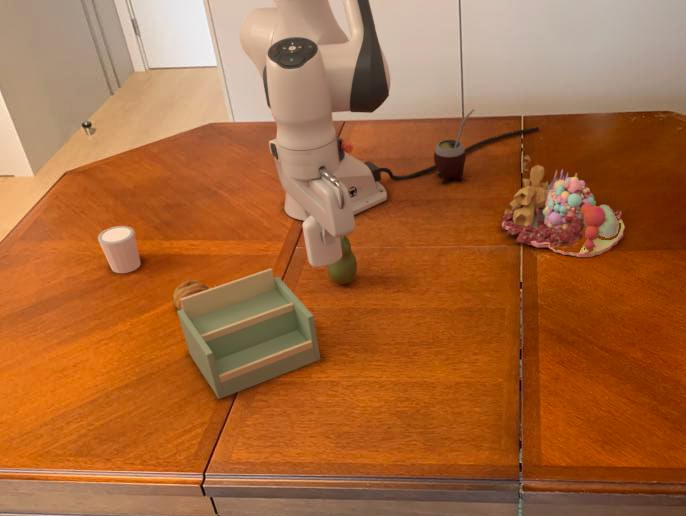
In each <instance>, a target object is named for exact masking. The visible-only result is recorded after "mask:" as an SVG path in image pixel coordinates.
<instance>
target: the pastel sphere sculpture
mask: <svg viewBox="0 0 686 516" xmlns="http://www.w3.org/2000/svg"><path fill="white" fill-rule="evenodd" d="M544 176H545V167H544V166H542V165H539V164H536V165H534V166H532V167H531V169H530V173H529V178H522V182H523V186H524V187H522V188H520V189H518V191H517V192H516V193H515V194H514V196H513V199H512V200H511V202H510V203H508V205H507V207H506V208H505V210H504V212H503V213H504V215H503V216H502V219H503V221H502V222H501V228H502V229H504V230H507V231H506V234H505V236H506V237H507V236H512V235H517V234H518V236H517V238H516V240H515V243H518V244H523V245H526V246H530V245H531V246H533V247H535V248H549V250H551V251H553V252H554V253H559V254H561V255H564V256H567V255H568V256H572V257H578V258H591V257H595V256H600V255H602V254H603V253H605V252H609V251H610V250H611V249H612V248H613V247H614V246H616V245H617V244H618V242H619V241H620V240H621V239H622V238H623V237H624V231H625V228H626V226H625V224H624V221H623V219H622V218H621V216H622V210H620V211H619V209H617V210H616V212H614V210H613V209H612V208H611V207H610V206H609V205H607V204H605V203H604V204H600V205H596V204H597V202H596V200H595V196H594V194H593V193H592V192H591V190H590V188H589V187H586V182H585V181H584V180H583V179H580V180H579V177H578V173H577V172H576V173H575V174H574V176H572V177H571V176H569V172H567V173H566V175H564V168H562V169H561V170H560V175H559V178H558V177H557V176H558V169H556V170H555V172H554V176H553V179H552V181H551V182H550V184H549V182H548V181H546V182H542V180H543V179H544ZM566 202H567V203H566ZM570 209H571V210H570ZM575 209H577V210H576V211H575ZM579 209H580V210H579ZM578 210H579V211H578ZM613 212H614V213H613ZM574 213H576V214H574ZM577 213H579V214H577ZM615 213H616V214H617V213H618V215H617V216H615V215H614V214H615ZM564 216H565V217H564ZM574 216H575V217H574ZM616 217H617V218H618V219H620V218H621V219H620V220H617V218H616ZM583 220H584V221H583ZM561 223H563V224H562V225H561ZM568 223H569V224H568ZM619 223H621V229H620V232H619V234H618V236H617V237H616V238H614V239H612V240H601V239H599V238H597V237H598V236H599V235H600V236H601V237H602V236H603V237H605V238H610V237H613V236H615V235H616V234H617V233H618V229H619ZM561 228H562V230H563V231H566V232H563V231H562V230H561ZM583 228H584V229H585V237H586V238H587V240H586V241H585V243H584V245H583V247H582V248H581V250H580V252H579V253H573V252H564V251H561V250H555V249H554V248H553V247H550V243H551V244H553V246H554V247H555V246H556V247H558V246H563V245H565V246H567V247H572V246H573V245H574V243H575V242H578V241H579V240H581V239H582V237H583V236H584V234H583V232H582V229H583ZM544 244H549V245H544ZM594 245H595V247H594ZM584 248H585V250H584ZM592 248H593V251H591V252H589V250H590V249H592ZM588 252H589V253H588ZM585 253H588V254H585Z"/></svg>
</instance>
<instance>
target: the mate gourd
mask: <svg viewBox="0 0 686 516" xmlns="http://www.w3.org/2000/svg"><path fill="white" fill-rule="evenodd" d="M474 111H475V109H474V108H473V109H471V110H470V111H469V112H468V113H467V114H466V115H465V116H464V117H463V119H462V120H461V123H460V128H459V131H458V134H457V139H444V140H440V141H439V142H438V143H437V145H436V147H435V149H434V153H433V161H434V162H433V163H434V165H436V167H437V168H436V170H437V171H438V173H437V177H439V178H442V181H441V184H442V185H446V184H447V183H448V182H450V181H451V180H452V181H455V182H461V183H462V182H464V178H463V174H464V168H465V163H466V158H467V154H466V153H467V152H466V153H465V149H466V148H465V147H464V145H463V144H462V142H461V141H460V140H461V136H462V132H463V129H464V127H465V125H466V121H467V119H468V118H469V117H471V115H472V114H473V112H474Z"/></svg>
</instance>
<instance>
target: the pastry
mask: <svg viewBox="0 0 686 516" xmlns="http://www.w3.org/2000/svg"><path fill="white" fill-rule="evenodd" d="M208 289H210V288H209V287H208V285H206V284H204V283H201V282H199V280H195V279H190V280H185V281H183V282H182V283H181V284H179V285H177V286H176V288H175V290H174V292H173V296H172V297H173V305H174V306H175V307H176V308H177V311H179V310H182V309H183V308H182V304H181V301H180V299H181V298H184V297H187V296H190V295H193V294H196V293H199V292H202V291H205V290H208Z"/></svg>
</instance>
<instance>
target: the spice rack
mask: <svg viewBox="0 0 686 516" xmlns="http://www.w3.org/2000/svg"><path fill="white" fill-rule="evenodd" d="M273 271H274V270H273V269H272V268H271V267H270V268H267V269H265V270H261V271H258V272H256V273H253V274H249V275H246V276H244V277H241V278H238V279H235V280H231V281H229V282H226V283H223V284H220V285H217V286H214V287H211V288H209V289H208V290H205V291H202V292H199V293H196V294H193V295H190V296H187V297H184V298H181V299H180V301H181V304H182V308H183V309H182V310H177V312H176V313H177V317H178V318H179V322H180V327H181V329H182V333H183V336H184V339H185V343H186V347H187V349H188V353H189V355H190V357H191V359H192V360H193V361H194V363H195V365H196V366H197V368H198V369H199V371H200V373H201V374H202V375H203V377H204V378H205V380H206V382H207V383H208V384H209V386H210V388H211V389H212V391H213V393H214V394H215V395H216V397H217V399H218V400H221V399H224V398H226V397H229V396H231V395H235V394H236V393H239V392H241V391H244V390H246V389H248V388H252V387H254V386H256V385H259V384H261V383H264V382H266V381H267V382H268V381H269V380H271V379H274V378H278V377H280V376H282V375H284V374H286V373H290V372H293V371H295V370H297V369H300V368H303V367H305V366H308V365H310V364H312V363H315V362H319V361H321V353H320V347H319V341H318V334H317V327H316V322H315V317H314V314H312V312H311V311H310V310H309V309H308V308H307V307H306V306H305V304H304V303H303V302H302V301H301V299H300V298H298V297H297V296H296V294H295V293H294V292H293V291H292V290H291V289H290V287H288V286H287V284H286V283H285V282H284V281H283V280H282V279H281V277H280V276H276V277H274V272H273Z"/></svg>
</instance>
